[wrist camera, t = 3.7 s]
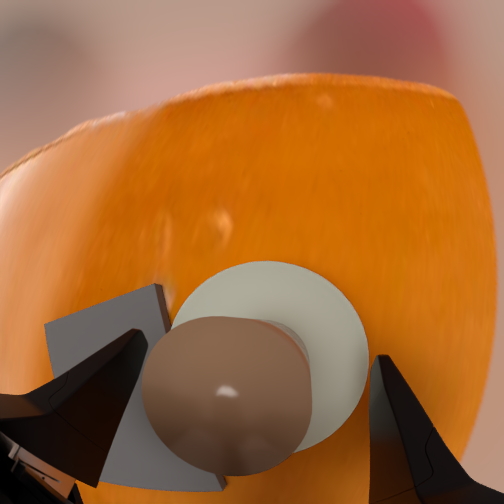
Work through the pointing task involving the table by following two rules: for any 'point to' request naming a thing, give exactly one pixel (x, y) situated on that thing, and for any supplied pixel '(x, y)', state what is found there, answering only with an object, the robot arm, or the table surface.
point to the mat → (134, 418)
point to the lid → (255, 368)
